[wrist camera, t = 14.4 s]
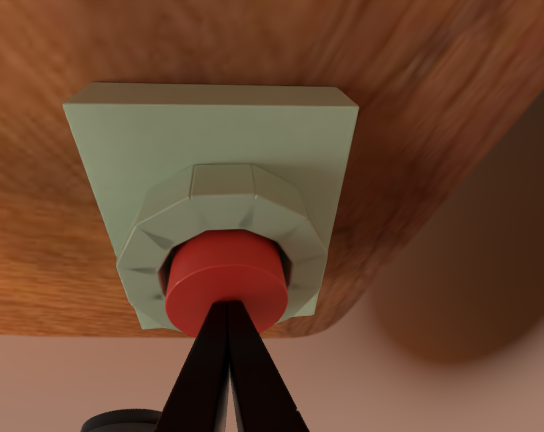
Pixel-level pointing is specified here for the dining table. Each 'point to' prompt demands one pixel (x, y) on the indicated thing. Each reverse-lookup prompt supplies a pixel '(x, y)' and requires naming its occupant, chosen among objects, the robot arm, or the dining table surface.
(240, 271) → the stop button
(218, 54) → the dining table surface
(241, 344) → the robot arm
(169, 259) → the green button base
